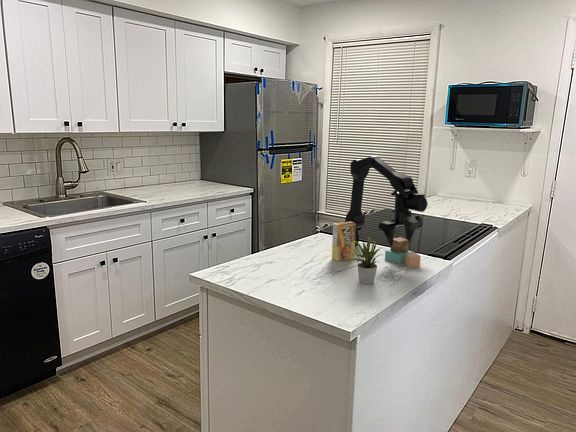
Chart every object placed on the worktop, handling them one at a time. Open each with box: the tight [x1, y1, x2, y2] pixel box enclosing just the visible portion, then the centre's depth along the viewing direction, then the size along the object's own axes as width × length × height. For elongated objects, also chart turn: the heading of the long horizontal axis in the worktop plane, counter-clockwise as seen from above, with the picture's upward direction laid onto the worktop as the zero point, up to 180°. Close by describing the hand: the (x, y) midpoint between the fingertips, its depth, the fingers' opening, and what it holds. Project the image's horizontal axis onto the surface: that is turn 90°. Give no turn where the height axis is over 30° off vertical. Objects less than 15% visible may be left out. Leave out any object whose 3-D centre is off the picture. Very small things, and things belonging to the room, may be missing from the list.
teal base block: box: [384, 248, 414, 265], centre depth 183 cm, size 8×8×4 cm
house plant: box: [351, 236, 384, 285], centre depth 158 cm, size 14×14×16 cm
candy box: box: [331, 221, 356, 262], centre depth 183 cm, size 9×4×15 cm, turn 116°
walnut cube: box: [390, 236, 410, 254], centre depth 182 cm, size 5×5×5 cm
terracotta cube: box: [404, 252, 421, 268], centre depth 176 cm, size 4×4×4 cm
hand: (399, 244), depth 182 cm, fingers open, 9 cm apart
